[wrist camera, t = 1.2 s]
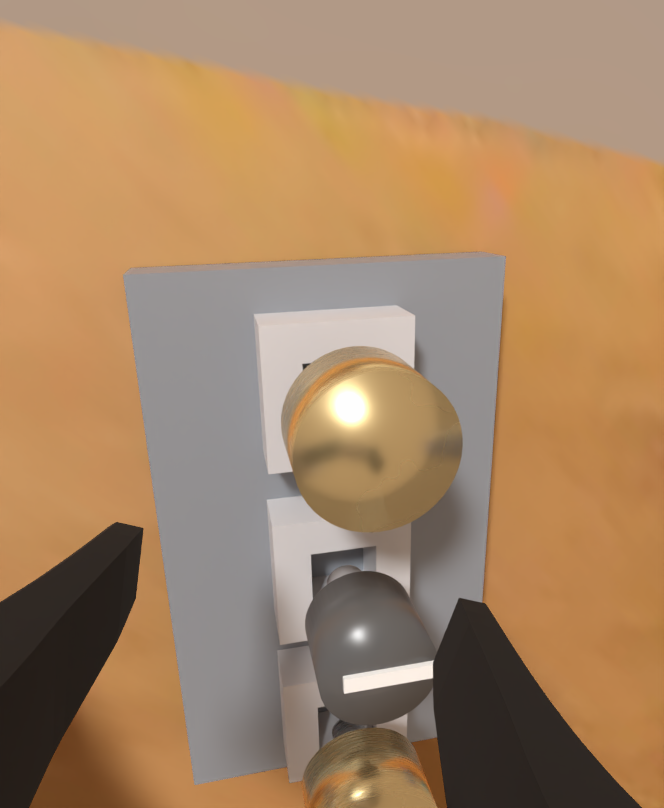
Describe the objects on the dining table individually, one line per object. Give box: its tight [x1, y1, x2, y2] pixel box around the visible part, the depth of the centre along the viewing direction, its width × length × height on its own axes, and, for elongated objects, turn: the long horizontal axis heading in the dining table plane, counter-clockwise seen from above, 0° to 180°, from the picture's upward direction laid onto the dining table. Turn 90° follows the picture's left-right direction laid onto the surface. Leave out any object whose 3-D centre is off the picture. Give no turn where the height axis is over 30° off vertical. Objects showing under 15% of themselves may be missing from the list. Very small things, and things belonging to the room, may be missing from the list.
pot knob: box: [305, 565, 437, 725], centre depth 19 cm, size 4×4×5 cm
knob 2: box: [302, 720, 437, 808], centre depth 22 cm, size 4×4×5 cm
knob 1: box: [281, 346, 463, 533], centre depth 17 cm, size 4×4×5 cm
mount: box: [123, 252, 506, 785], centre depth 24 cm, size 13×22×4 cm, turn 2°
